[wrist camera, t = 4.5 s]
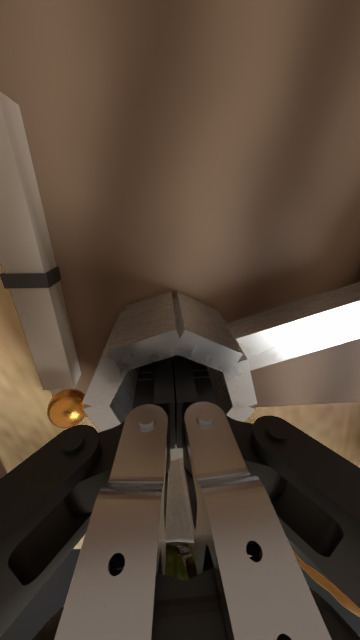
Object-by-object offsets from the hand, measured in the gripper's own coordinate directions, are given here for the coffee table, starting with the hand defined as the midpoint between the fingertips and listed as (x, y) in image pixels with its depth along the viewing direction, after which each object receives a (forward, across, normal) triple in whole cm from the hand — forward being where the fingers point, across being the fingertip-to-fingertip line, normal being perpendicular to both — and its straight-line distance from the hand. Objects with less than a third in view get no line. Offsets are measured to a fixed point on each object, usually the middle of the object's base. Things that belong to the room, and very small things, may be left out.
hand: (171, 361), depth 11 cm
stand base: (+4, -5, -4) cm, 8 cm away
